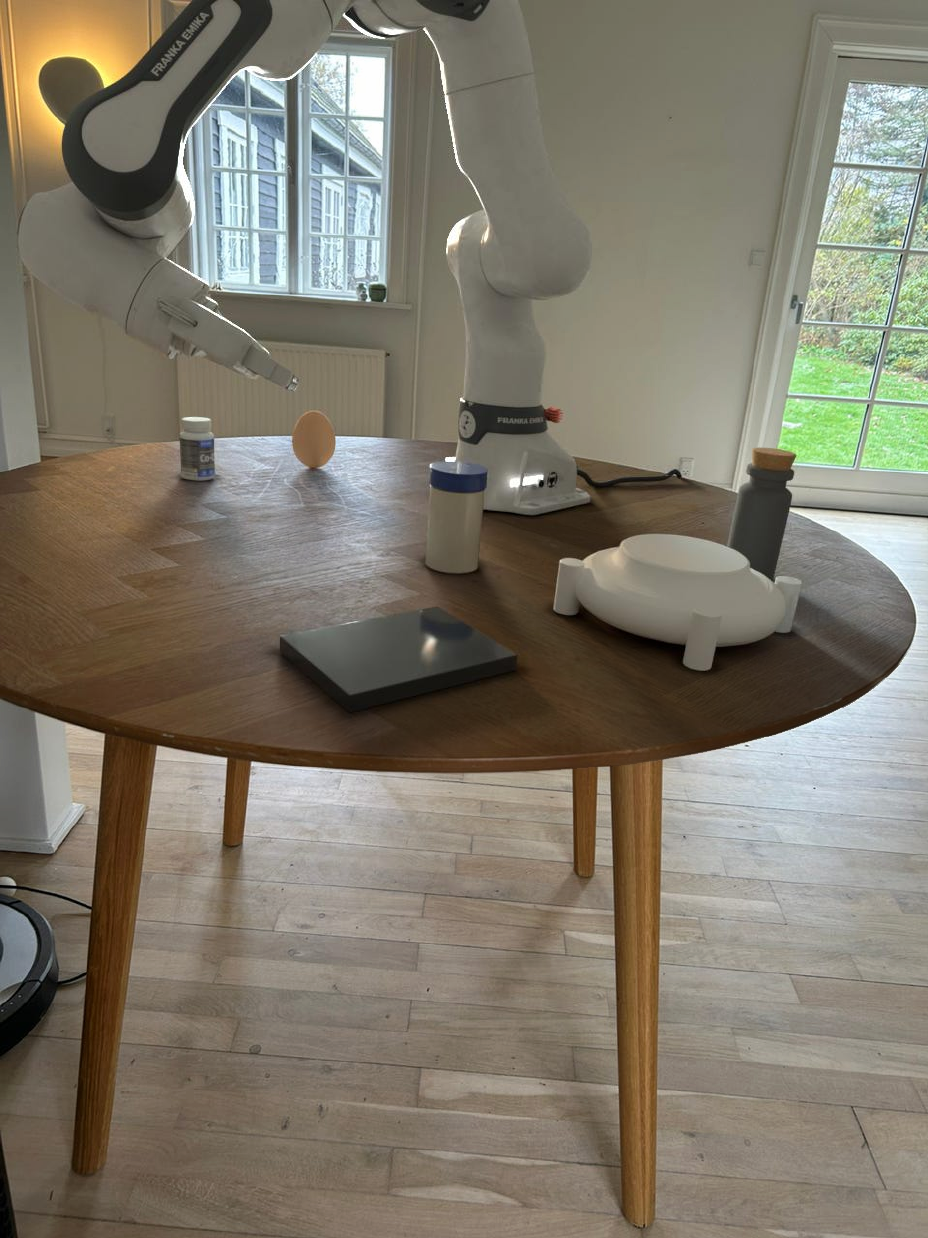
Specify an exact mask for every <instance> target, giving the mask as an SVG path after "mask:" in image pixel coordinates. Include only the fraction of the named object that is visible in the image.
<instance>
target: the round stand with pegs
mask: <svg viewBox="0 0 928 1238" xmlns="http://www.w3.org/2000/svg"><path fill="white" fill-rule="evenodd" d="M556 578H557V579H556V585H555V592H554V593H555V594H554V600H553V601H554V602H553V611H554V612H555V613H557V614H560V615H563V616H574V615H577V614H578V613H579V610H580V609H579V608H580V604H581V605H582V606H583V608H584V609H586V610H587V611H588V612H589V613H590V614H591V615H593V616H594V617H596V618H597V619H599V620H600V621H602V622H604V623H606V624H608V625H610V626H612V627H614V628H616V629H618V630H621V631H624V632H626V633H630V634H632V635H636V636H639V637H643V638H646V639H650V640H654V641H659V642H664V643H668V644H675V645H681V646H685V649H684V653H683V658H682V664H683V665H684V666H685V667H687V668H688V669H690V670H694V671H699V672H700V671H702V672H704V671H710V670H711V669H712V665H713V661H714V656H715V652H716V648H723V647H724V648H725V647H732V646H741V645H742V646H744V645H748V644H752V643H755V642H758V641H761V640H763V639H765V638H767V637H768V636H770V635H772V634H774V632H775V633H780V634H784V633H785V634H786V633H789V632H791V630H792V627H793V623H794V618H795V614H796V610H797V606H798V602H799V599H800V594H801V590H802V586H803V581H802V580H800V579H799V578H797V577H793V576H788V575H778V576H776V577H775V580H774V581H773V582H772V581H771V580H770V579H768V578H767V577H766V576H765V575H763V574H761V573H759V572H757V571H755V570H754V569H752V568H750V562H749V561H748V559H747V558H746V557H745V556H743V555H742V554H741V553H739V552H738V551H736V550H734V549H732V548H729V547H727V545H724V544H721V543H719V542H715V541H711V540H708V539H703V538H698V537H694V536H689V535H688V536H687V535H680V534H679V535H678V534H672V533H671V534H669V533H667V534H666V533H647V534H638V535H633V536H629V537H628V538H625V539H623V540H622V541H621V542H620V544H619V546H616V547H615V546H614V547H610V548H606V549H601V550H598V551H596V552H593V553H592V554H590V555H588V556H586V557H585V558H584V559H582V560H581V559H578V558H572V557H563V558H561V559H559V562H558V572H557V577H556Z"/></svg>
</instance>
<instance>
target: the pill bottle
mask: <svg viewBox="0 0 928 1238" xmlns="http://www.w3.org/2000/svg"><path fill="white" fill-rule="evenodd" d="M181 429H182V430H183V431H181V432H180V433H179V455H180V459H179V460H180V475H181V478H182V479H184V480H189V481H195V482H196V481H199V482H202V481H209V480H213V479H214V478H215V477H216V464H215V463H216V462H215V461H216V460H215V459H216V458H215V436H214V433H213V432H211V430H212V419H210V418H209V417H201V416H188V417H183V418H181Z"/></svg>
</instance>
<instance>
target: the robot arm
mask: <svg viewBox="0 0 928 1238" xmlns="http://www.w3.org/2000/svg"><path fill="white" fill-rule="evenodd" d="M343 17H344V18H345V19H346V21H347V22H348V23H349V24H350V25H352V26H353V27H354V28H355V29H356V30H358V31H359V32H361V33H363V34H364V35H367V36H369V37H373V38H378V39H392V38H396V37H399V36H400V35H403V34H406V33H411V32H412V33H413V32H415V31H419V30H422V29H423V30H424V31H425V33H426V34H427V36H428V37H429V39H430V40H431V42H432V45H433V46H434V48H435V50H436V53H437V56H438V60H439V64H440V71H441V72H440V73H441V81H442V85H443V92H444V93H443V94H445V95H444V98H445V103H446V104H445V105H446V109H447V114H448V120H449V125H450V132H451V137H452V142H453V147H454V148H453V149H454V153H455V159H456V163H457V165H458V167H459V169H460V171H461V172H462V173H463V175H464V176H465V177H466V178H467V179H468V180H469V181H470V184H471V185H472V187H473V188H474V190H475V192H476V195H477V197H478V198H479V202H480V203H481V206H482V208H483V209H480V210H478V211H476V212H473V213H471V214H469V215H467V216H465V217H464V218H462V219H461V220H459V221H458V222H457V223H456V224H455V225H454V227H453V228H452V230H451V231H450V233H449V236H448V238H447V243H446V260H447V264H448V268H449V270H450V272H451V273H452V275H453V277H454V279H455V280H456V283H457V286H458V290H459V296H460V301H461V307H462V313H463V320H464V328H465V362H464V363H465V364H464V377H463V379H464V380H463V394H462V397H461V398H460V399H459V405H458V414H457V415H458V416H457V431H458V432H457V433H458V438H457V439H458V440H457V445H456V452H455V456H452V457H451V456H449V457H445V461H458V462H468V463H473V464H478V465H481V466H484V467H486V468H487V469H488V480H487V488H486V489H485V495H484V506H483V510H484V511H485V510H487V511H493V512H495V511H496V512H497V511H498V512H507V513H514V514H519V515H525V516H536V515H540V514H546V513H549V512H553V511H558V510H562V509H567V508H571V507H577V506H580V505H585V504H589V503H591V495H590V494H589V493H588V492H587V491H585V490H583V489H581V488H579V487H577V484H578V483H577V482H578V479H577V478H578V476H579V477H581V478H583V479H584V481H585V483H586V484H587V485H588V486H590V487H593V488H597V489H599V488H605V487H611V486H614V485H618V484H625V483H648V482H649V483H651V482H652V483H653V482H662V481H665V480H668V479H670V478H671V477H673V476H674V475H675V477H676V478H679V479H683V476H682V473H681V471H679V469H676V468H673V469H671V470H669V471H668V472H666V473H665V474H662V475H661V474H660V475H649V476H647V475H646V476H645V475H644V476H643V475H641V476H640V475H639V476H623V477H621V476H620V477H617V478H614V479H610V480H606V481H594V480H593V479H592V478H591V477H590V475H589V474H588V473H587V472H585V471H583V470H581V469H579V466H578V465H577V463H576V460H575V458H574V457H573V456H572V454H570V452H568V451H567V450H566V449H565V448H564V447H563V445H561V444H560V443H559V442H558V441H557V439H556V438H554V436H553V435H551V433H550V432H549V431H548V430H549V427H548V422H552V423H554V424H559V423H560V422H561V420H562V419H563V417H564V415H563V412H562V409H561V408H554V407H552V406H549V407H547V408H545V407H544V406H543V404H542V396H543V387H544V378H545V371H546V370H545V369H546V361H547V347H546V343H545V341H544V338H543V337H542V336H541V334H540V333H539V330H538V327H537V325H536V324H537V323H536V319H535V314H534V309H533V300H535V301H545V300H550V299H556V298H559V297H562V296H566V295H569V294H571V293H573V292H575V291H576V290H578V289H579V288H580V287H581V286H582V285H583V284H584V282H585V280H586V279H587V277H588V276H589V273H590V271H591V269H592V265H593V261H594V242H593V237H592V234H591V232H590V229H589V227H588V226H587V225H586V223H585V222H584V220H582V219H581V218H580V217H579V216H578V214H577V213H576V212H575V211H574V210H573V209H572V207H571V206H570V204H569V202H568V200H567V199H566V196H565V194H564V192H563V190H562V188H561V186H560V183H559V181H558V179H557V176H556V174H555V170H554V168H553V166H552V163H551V160H550V157H549V154H548V149H547V146H546V142H545V137H544V131H543V125H542V118H541V112H540V106H539V98H538V92H537V91H538V89H537V84H536V76H535V74H533V73H535V68H534V62H533V56H532V50H531V46H530V40H529V36H528V31H527V29H526V24H525V23H526V22H525V20H524V15H523V13H522V8H521V6H520V1H519V0H191V1H189V4H187V5H186V7H185V8H183V10H182V11H181V12H180V13H179V14H178V16H177V17H176V18H175V19H174V20H173V22H171V24H170V25H169V26H168V27H167V28H166V30H165V31H164V32H163V33H162V34H161V36H160V37H158V39H157V40H156V41H155V42H154V43H153V45H152V46H151V47H150V48H149V49H148V50H147V51H146V53H145V54H144V55H143V56H142V57H141V58H140V59H139V61H138V62H137V63H136V64H135V65H134V67H132V68H131V69H130V70H129V71H128V72H127V73H126V74H124V75H123V76H122V77H121V78H119V79H118V80H116V81H114V82H113V83H111V84H109V85H108V86H106V87H104V88H102V89H100V90H98V91H96V92H94V93H92V94H91V95H89V96H87V97H86V98H85V99H83V100H82V101H81V102H79V103H78V104H77V105H76V107H75V108H74V109H73V110H72V111H71V113H70V114H69V116H68V117H67V120H66V122H65V124H64V126H63V130H62V135H61V154H62V161H63V165H64V167H65V170H66V172H67V174H68V176H69V179H70V180H71V181H70V182H69V183H66V184H64V185H62V186H59V187H58V188H54V189H52V190H48V191H43V192H41V191H40V192H37V193H35V194H33V195H32V196H31V197H30V198H29V199H28V201H27V202H26V203H25V205H24V207H23V209H22V211H21V213H20V216H19V220H18V225H17V231H16V235H17V250H18V253H19V256H20V259H21V261H22V263H23V265H24V267H25V268H26V269H27V270H28V272H29V273H30V274H31V275H32V276H33V277H34V278H36V279H37V280H38V281H39V282H40V283H42V285H45V286H47V288H49V289H50V290H51V291H53V292H55V293H56V294H58V295H59V296H60V297H62V298H64V299H65V300H67V301H68V302H70V303H72V304H73V305H75V306H77V307H78V308H80V309H82V310H84V311H85V312H87V313H89V314H91V315H95V316H98V317H102V318H104V319H107V320H108V321H111V322H112V323H113V324H114V325H115V326H116V327H117V328H119V330H121V331H122V333H124V334H125V335H126V336H129V337H130V338H132V339H133V340H135V341H136V342H139V343H140V344H142V345H143V346H145V347H147V348H149V349H150V350H152V351H154V352H155V353H157V354H159V355H161V356H163V357H165V358H166V359H168V360H173V359H175V358H176V357H179V356H184V355H185V356H187V357H188V358H193V357H201V358H203V359H206V360H208V361H210V362H213V363H215V364H217V365H220V366H221V367H224V368H227V369H228V370H230V371H232V372H235V373H237V374H240V375H242V376H245V377H247V378H249V379H251V380H258V379H260V377H261V378H263V379H265V380H267V381H269V382H271V383H273V384H275V385H278V386H280V387H282V388H283V389H285V390H287V391H288V392H289V393H294V392H296V390H297V388H298V387H299V384H300V383H301V381H300V378H299V377H298V376H296V375H294V374H293V372H292V370H291V369H288V368H287V367H285V366H284V365H282V364H280V363H278V362H277V361H276V360H274V359H273V358H272V357H271V354H270V352H269V351H268V350H267V349H266V348H265V347H263V346H262V345H261V344H260V343H259V342H258V341H257V340H256V339H254V338H253V337H252V335H250V334H249V333H248V332H246V330H244V329H242V328H240V327H239V326H238V325H236V324H234V323H232V322H231V321H230V320H228V319H227V318H226V317H224V315H222V313H221V312H220V310H219V308H220V307H219V303H217V302H216V301H215V300H213V299H212V296H211V294H210V292H211V287H210V284H209V283H208V282H207V281H205V280H203V279H202V278H200V277H198V276H197V275H195V274H193V273H191V272H190V271H188V270H187V269H185V268H183V267H182V266H180V265H179V264H176V263H175V262H174V261H171V260H170V259H168V258H169V257H170V255H171V254H172V253H173V252H174V251H175V250H176V248H177V247H178V246H179V245H180V243H181V242H182V241H183V240H184V238H185V237H186V235H187V234H188V232H189V231H190V229H191V227H192V225H193V222H194V216H195V201H194V196H193V192H192V188H191V185H190V181H189V179H188V176H187V174H186V171H185V169H184V165H183V157H184V149H185V144H186V141H187V138H188V135H189V133H190V131H191V129H192V127H194V125H196V123H197V122H198V120H199V119H200V118H201V117H202V116H203V114H204V113H205V112H206V111H207V110H208V108H209V107H210V106H211V105H212V103H213V102H214V101H215V100H216V98H217V97H219V95H220V94H221V93H222V91H223V90H224V89H225V88H226V86H227V85H228V84H229V83H230V82H231V80H233V78H234V77H235V76H236V75H238V74H239V73H241V72H242V71H244V70H246V71H248V72H249V73H251V74H252V75H254V76H256V77H258V78H262V79H264V80H270V81H286V80H290V79H293V78H294V77H295V76H296V75H297V74H299V73H300V72H301V71H302V70H303V69H304V68H305V67H306V66H307V65H308V64H309V63H310V62H311V61H312V60H313V59H314V58H315V57H316V55H317V54H318V53H319V52H320V50H321V49H322V47H323V46H324V44H325V43H326V42H327V41H328V39H329V38H330V36H331V35H332V33H333V32H334V30H335V29H336V28H337V26H338V24H339V23H340V21H341V20H342V18H343ZM665 475H669V476H665Z"/></svg>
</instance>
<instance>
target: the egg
mask: <svg viewBox="0 0 928 1238" xmlns="http://www.w3.org/2000/svg"><path fill="white" fill-rule="evenodd" d="M291 435H292V436H291V447H292V450H293V454H294V456H295V457H296V458H297V460H298V461H299V462H300V463H301V464H302V465H303V466H305V467H307V468H309V469H319V468H322V467H324V466H325V465H326V464H327V463H329V462H330V461H331V459H332V458H333V455H334V454H335V450H336V433H335V430H334V428H333V425H332V423H331V421H330V419H329V418H328V417H327V416H326V415H325V414H324V413H322V412H321V411H319V410H309V411H307V412H305V413H304V414H302V415H301V416H300V417H299V419H298V420H297V422H296V423H295V426H294V428H293V430H292V434H291Z"/></svg>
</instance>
